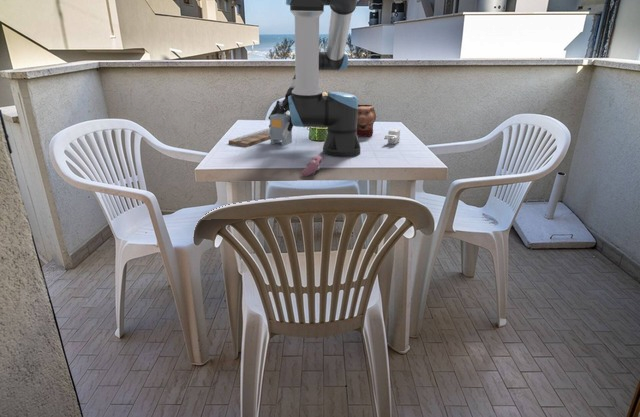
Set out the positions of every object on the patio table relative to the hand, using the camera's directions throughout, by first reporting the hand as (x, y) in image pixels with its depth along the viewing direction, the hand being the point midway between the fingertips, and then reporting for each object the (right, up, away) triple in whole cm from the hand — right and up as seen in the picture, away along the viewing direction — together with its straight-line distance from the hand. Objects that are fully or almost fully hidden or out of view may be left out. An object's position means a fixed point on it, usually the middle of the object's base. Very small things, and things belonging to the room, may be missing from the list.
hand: (276, 135), depth 176 cm
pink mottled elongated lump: (+16, -19, -35) cm, 43 cm away
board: (-11, 0, +10) cm, 14 cm away
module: (+2, -2, +4) cm, 5 cm away
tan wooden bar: (-11, +1, +9) cm, 14 cm away
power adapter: (+50, -3, +4) cm, 50 cm away
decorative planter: (+39, +4, +22) cm, 45 cm away
